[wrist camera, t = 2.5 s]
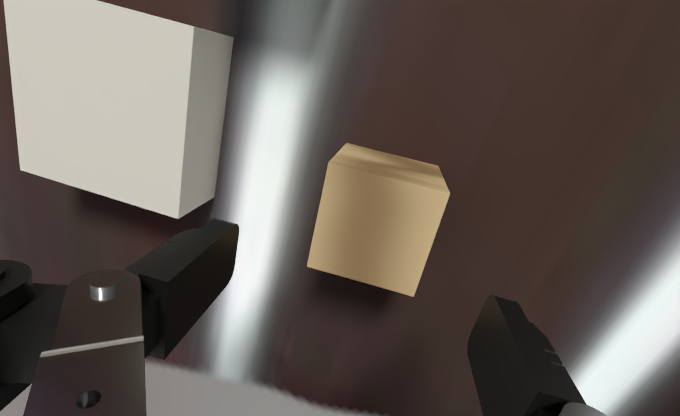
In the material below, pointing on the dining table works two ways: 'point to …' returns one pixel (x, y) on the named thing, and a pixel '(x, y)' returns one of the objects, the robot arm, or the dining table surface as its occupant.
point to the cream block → (118, 101)
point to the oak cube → (377, 218)
